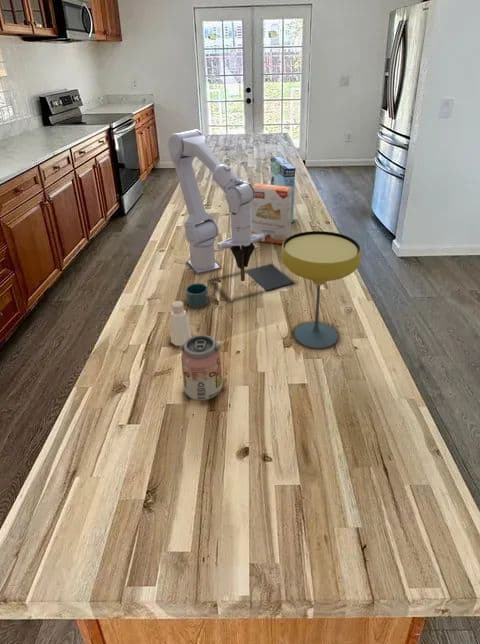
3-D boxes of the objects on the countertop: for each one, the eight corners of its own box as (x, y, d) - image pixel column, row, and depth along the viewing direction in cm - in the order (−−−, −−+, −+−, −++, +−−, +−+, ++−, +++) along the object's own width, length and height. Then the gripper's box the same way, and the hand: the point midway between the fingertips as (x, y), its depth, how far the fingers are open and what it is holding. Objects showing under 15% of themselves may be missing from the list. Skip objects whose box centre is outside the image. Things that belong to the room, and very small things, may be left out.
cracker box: (250, 240, 164) (249, 187, 155) (256, 234, 169) (255, 182, 160) (286, 245, 159) (287, 190, 150) (291, 239, 164) (292, 185, 155)
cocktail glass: (364, 353, 103) (375, 259, 93) (290, 362, 101) (293, 267, 90) (337, 311, 120) (344, 227, 109) (273, 319, 117) (273, 233, 106)
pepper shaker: (168, 337, 111) (163, 300, 106) (188, 332, 113) (185, 295, 108) (173, 349, 106) (169, 311, 102) (194, 343, 108) (191, 306, 103)
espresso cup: (183, 300, 127) (182, 286, 125) (203, 294, 129) (202, 281, 127) (191, 310, 122) (189, 296, 120) (211, 304, 124) (210, 291, 122)
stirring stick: (239, 279, 134) (239, 253, 130) (243, 278, 134) (243, 252, 130) (241, 281, 133) (241, 255, 129) (245, 280, 133) (244, 254, 129)
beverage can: (187, 372, 99) (183, 328, 94) (224, 372, 99) (222, 328, 93) (181, 402, 91) (175, 356, 85) (221, 403, 90) (218, 357, 85)
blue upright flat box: (269, 208, 196) (269, 157, 186) (280, 206, 197) (281, 156, 187) (282, 223, 179) (283, 168, 169) (294, 222, 180) (295, 167, 170)
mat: (210, 280, 137) (210, 279, 137) (271, 265, 145) (271, 264, 145) (228, 301, 126) (228, 300, 125) (293, 283, 134) (293, 282, 134)
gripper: (223, 234, 120) (225, 277, 126) (269, 224, 125) (269, 266, 131) (213, 226, 125) (216, 267, 131) (258, 217, 131) (258, 257, 137)
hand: (242, 266), depth 132 cm, fingers closed on stirring stick, 1 cm apart
